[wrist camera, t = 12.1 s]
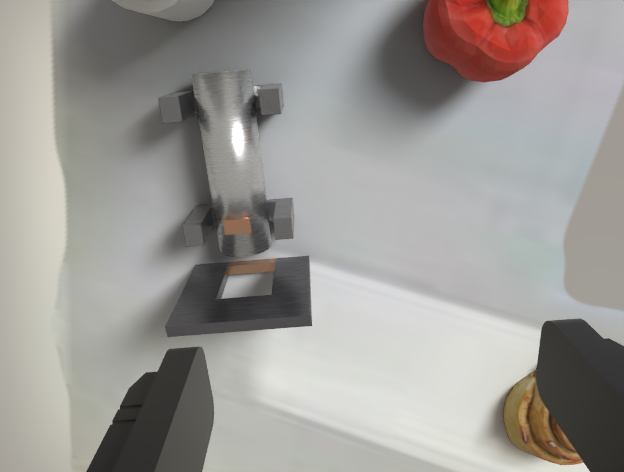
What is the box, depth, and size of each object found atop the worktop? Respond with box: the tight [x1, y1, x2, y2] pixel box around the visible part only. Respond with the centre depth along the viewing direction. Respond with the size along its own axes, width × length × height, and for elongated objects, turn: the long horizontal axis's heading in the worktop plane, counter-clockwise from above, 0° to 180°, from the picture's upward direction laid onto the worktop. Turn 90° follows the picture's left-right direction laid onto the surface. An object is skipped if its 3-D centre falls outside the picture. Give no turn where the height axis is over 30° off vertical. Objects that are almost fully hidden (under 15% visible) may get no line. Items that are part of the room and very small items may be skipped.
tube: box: [191, 69, 271, 257], centre depth 42 cm, size 16×5×5 cm, turn 4°
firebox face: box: [165, 256, 312, 337], centre depth 44 cm, size 1×12×12 cm, turn 95°
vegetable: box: [423, 0, 568, 82], centre depth 37 cm, size 11×10×10 cm
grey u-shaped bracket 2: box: [183, 198, 294, 247], centre depth 45 cm, size 2×10×6 cm, turn 95°
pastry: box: [503, 371, 583, 465], centre depth 54 cm, size 13×15×8 cm
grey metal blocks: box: [158, 84, 284, 123], centre depth 41 cm, size 2×10×6 cm, turn 95°
